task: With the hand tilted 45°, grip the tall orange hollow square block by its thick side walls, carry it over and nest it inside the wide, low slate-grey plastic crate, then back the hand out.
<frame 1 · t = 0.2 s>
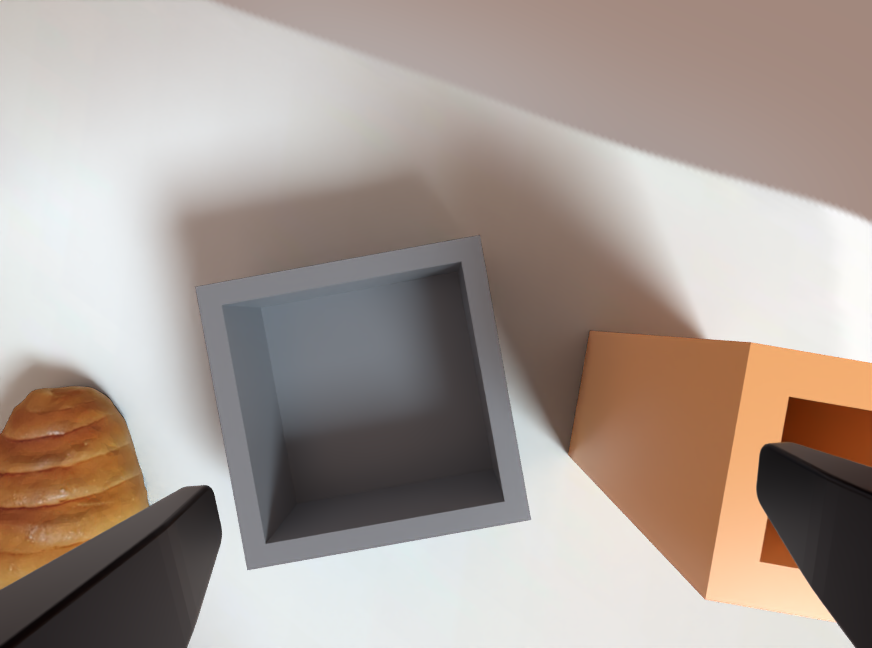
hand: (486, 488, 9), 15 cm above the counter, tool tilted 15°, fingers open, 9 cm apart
orange hollow square block: (641, 403, 24), on the counter
grey crate: (378, 385, 24), on the counter
pastry: (83, 501, 25), on the counter
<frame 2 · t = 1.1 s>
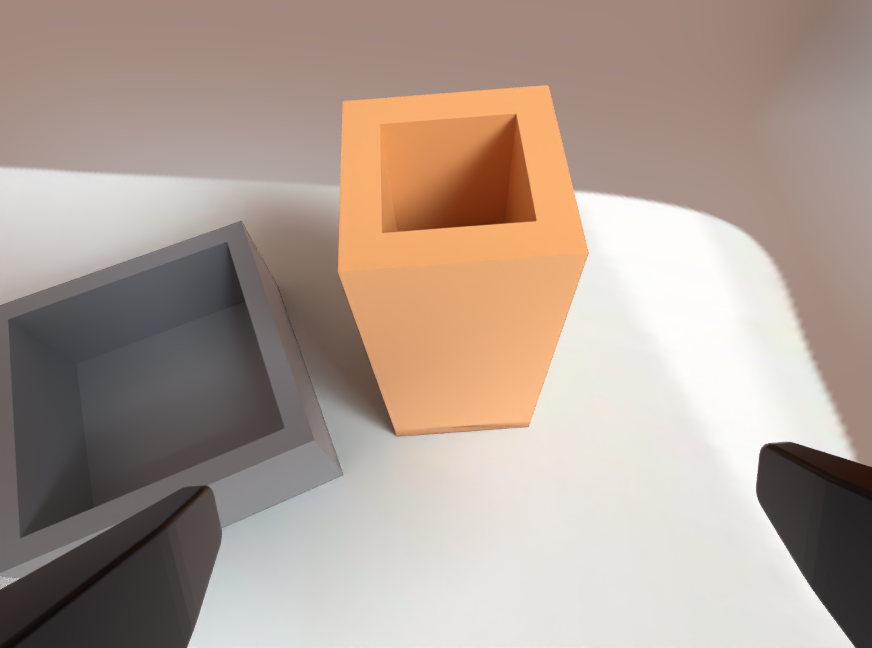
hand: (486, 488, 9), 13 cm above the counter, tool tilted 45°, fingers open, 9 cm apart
orange hollow square block: (457, 371, 24), on the counter
grey crate: (197, 415, 24), on the counter
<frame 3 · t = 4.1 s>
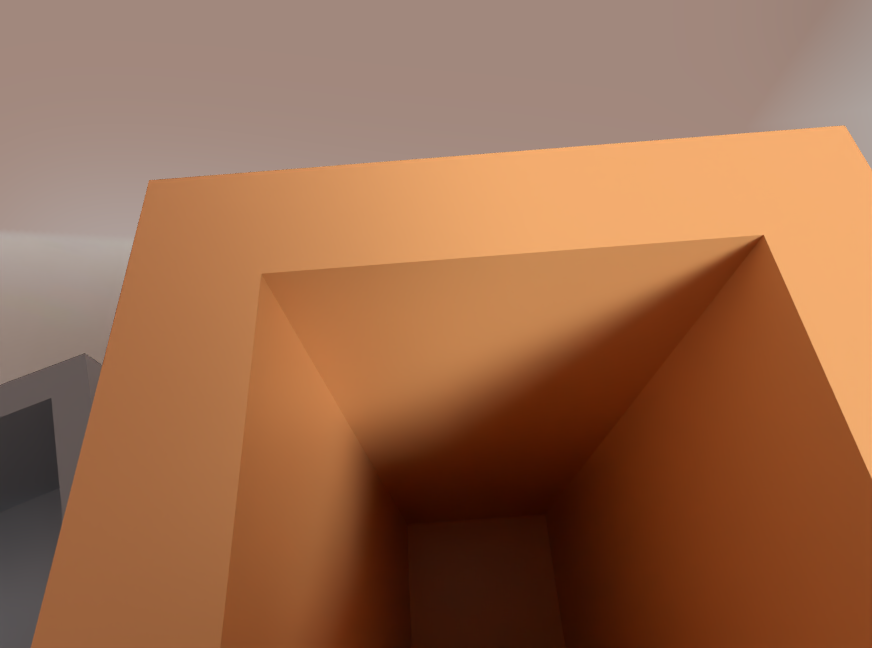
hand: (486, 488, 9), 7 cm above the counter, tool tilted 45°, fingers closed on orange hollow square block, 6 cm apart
orange hollow square block: (482, 598, 14), on the counter, touching gripper
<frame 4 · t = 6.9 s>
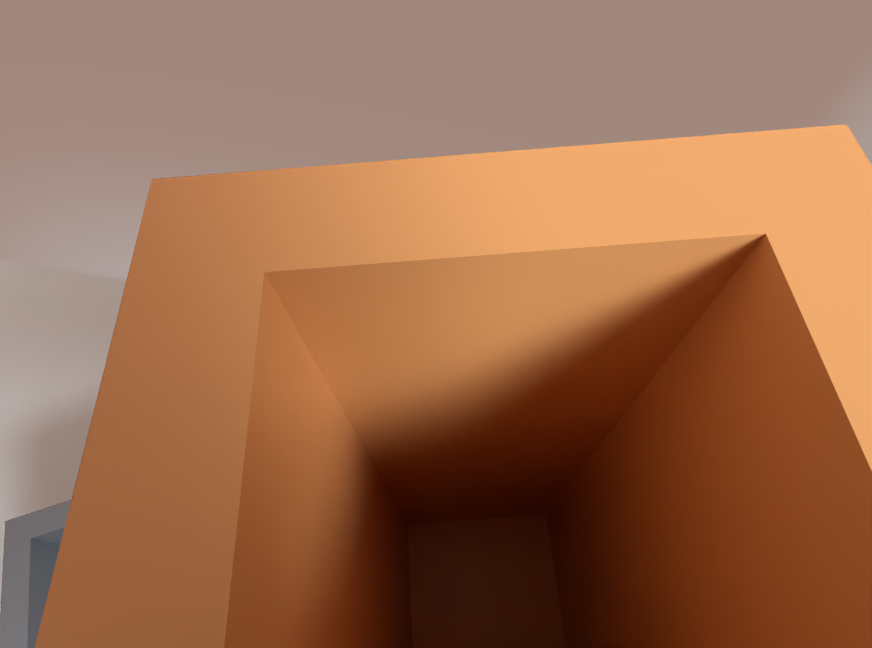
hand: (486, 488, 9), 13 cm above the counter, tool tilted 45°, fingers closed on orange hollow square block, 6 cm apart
orange hollow square block: (483, 597, 14), point 7 cm above the counter, touching gripper
grey crate: (243, 634, 20), on the counter
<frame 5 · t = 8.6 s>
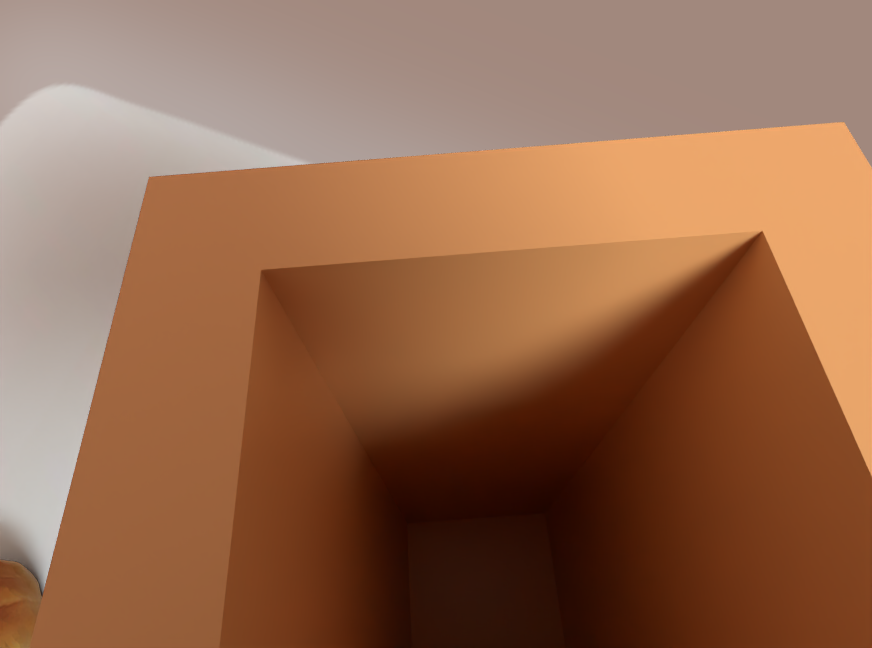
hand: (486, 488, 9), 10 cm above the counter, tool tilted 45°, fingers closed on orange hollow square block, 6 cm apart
orange hollow square block: (482, 596, 14), point 4 cm above the counter, touching gripper
when the fingers open (9 cm above the counter, at t = 9.7 s): orange hollow square block drops 1 cm, resting on grey crate.
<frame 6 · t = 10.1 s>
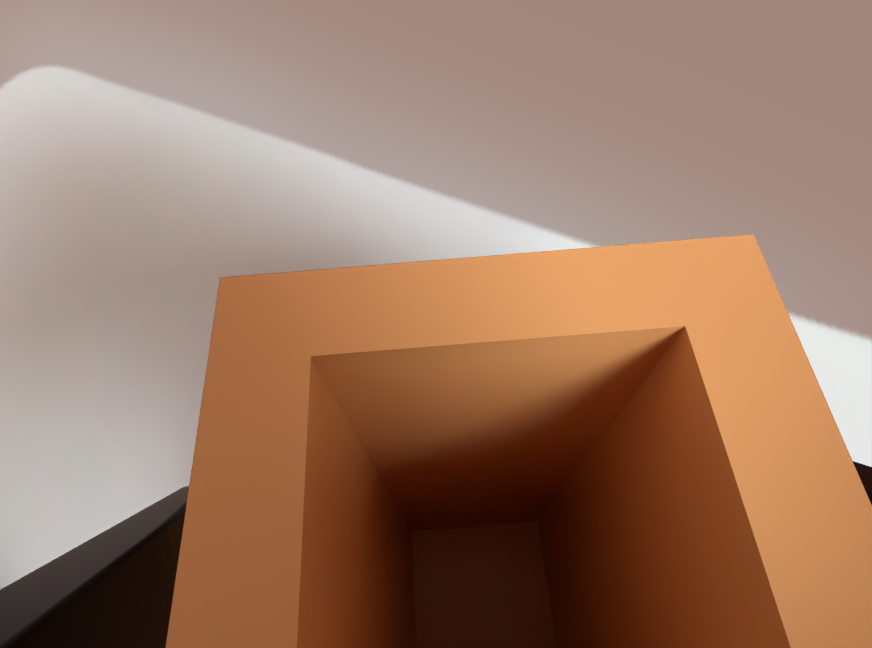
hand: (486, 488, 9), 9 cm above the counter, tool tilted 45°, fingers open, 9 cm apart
orange hollow square block: (480, 597, 15), point 1 cm above the counter, touching grey crate
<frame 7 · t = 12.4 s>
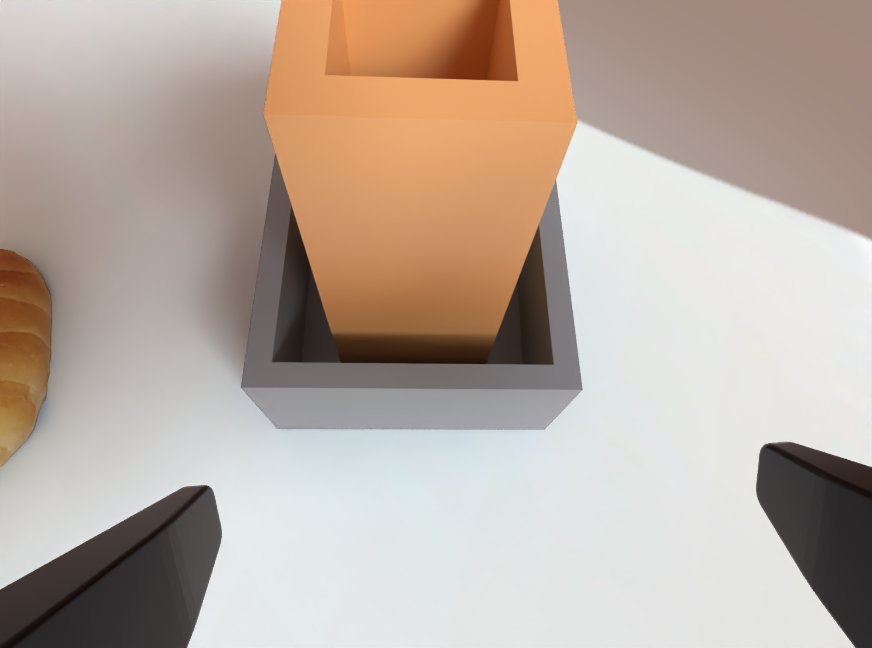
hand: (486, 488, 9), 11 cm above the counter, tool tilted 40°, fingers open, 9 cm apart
orange hollow square block: (414, 299, 22), point 1 cm above the counter, touching grey crate
grey crate: (413, 309, 23), on the counter
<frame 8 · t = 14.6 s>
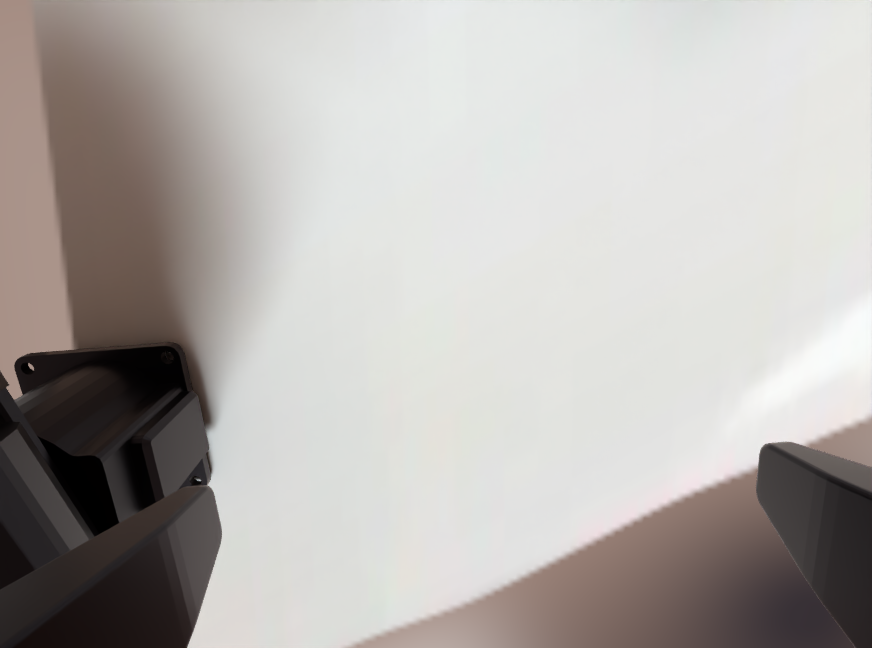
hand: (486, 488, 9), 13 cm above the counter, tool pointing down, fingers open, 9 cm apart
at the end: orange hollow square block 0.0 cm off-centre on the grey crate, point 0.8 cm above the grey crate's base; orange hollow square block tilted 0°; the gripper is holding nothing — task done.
